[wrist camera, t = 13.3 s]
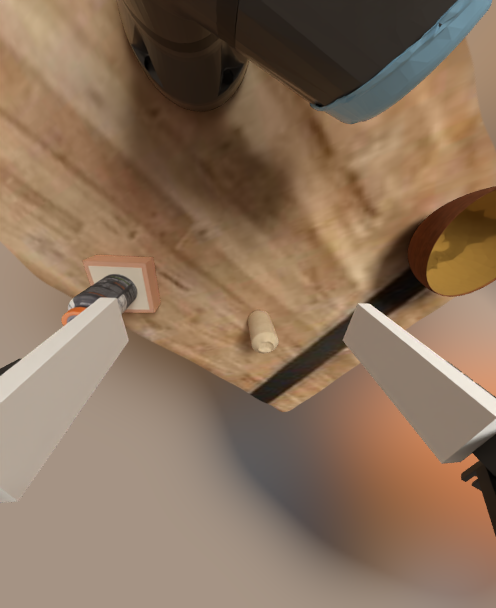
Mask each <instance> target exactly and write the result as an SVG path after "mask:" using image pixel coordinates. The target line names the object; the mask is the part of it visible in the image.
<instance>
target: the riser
mask: <svg viewBox="0 0 496 608" xmlns="http://www.w3.org/2000/svg"><path fill="white" fill-rule="evenodd" d="M82 262H83V265H84V268H85V271H86V273H87V276H88V279H89V282H90V285H91V286H92V285H93V284H95V283H96V282H98V281H100V280H101V279H103V278H104V277H106V276H108V275H111V274H120V275H123V276H125V277H127V278H129V279H130V280H131V281H132V282H133V283H134V284H135V286H136V288H137V297H136V299H135V300H134V301H133V302H132V303H131V305H130V306H129V307H128V308H127V309H126V310H125V311H124V312H136V313H155V311H156V310H157V308H158V307H159V305H160V304H161V301H160V295H159V289H158V283H157V277H156V271H155V265H154V259H153V257H137V256H116V255H94V256H92V257H90V258H87V259H85V260H83V261H82Z"/></svg>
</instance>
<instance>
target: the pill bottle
mask: <svg viewBox="0 0 496 608" xmlns="http://www.w3.org/2000/svg"><path fill="white" fill-rule="evenodd" d="M136 297H137V288H136V286H135V284H134V283H133V282H132V281H131V280H130V279H129V278H127V277H125V276H123V275H120V274H111V275H108V276H106V277H104V278H103V279H101V280H100V281H98V282H96V283H95V284H93V285H92V286H91V287H89V288H87V289H86V290H85V291H83V292H81V293H80V294H78V295H77V296H75V297H74V298H73V299H72V300H71V301H70V303H69V305H68V312H67V313H65V314H64V315H63V316H62V324H63V326H65V325H66V324H67V323H68V322H70V321H71V320H72V319H74V318H75V317H76V316H77V315H79V314H80V313H81V312H82V311H84V310H85V309H86V308H88V307H89V306H90V305H91V304H93V303H94V302H95V301H96V300H98V299H99V298H117V301H118V304H119V308H120V311H121V315H122V313H123V312H124V311H125V310H126V309H127V308H128V307H129V306H130V305H131V303H132V302H133V301H134V300H135V299H136Z"/></svg>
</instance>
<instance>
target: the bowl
mask: <svg viewBox="0 0 496 608" xmlns="http://www.w3.org/2000/svg"><path fill="white" fill-rule="evenodd" d="M408 262H409V265H410V268H411V270H412V272H413V274H414V275H415V277H416V278H417V279H418V280H419V281H420V282H421V283H422V284H423V285H424V286H425V287H427V288H428V289H429V290H431V291H433V292H435V293H437V294H440V295H442V296H449V297H453V296H460V295H465V294H469V293H471V292H474V291H476V290H478V289H481V288H483V287H485V286H487V285H488V284H490V283H492V282H493V281H495V280H496V186H495V187H490V188H486V189H482V190H479V191H476V192H473V193H470V194H467V195H464V196H462V197H460V198H457V199H455V200H453V201H451V202H449V203H447V204H445V205H444V206H442V207H440V208H439V209H437V210H436V211H434V212H433V213H432V214H431V215H429V216H428V217H427V218H426V219H425V220H424V221H423V222H422V223H421V224H420V226H419V227H418V228H417V230H416V231H415V233H414V234H413V236H412V238H411V241H410V244H409V248H408Z"/></svg>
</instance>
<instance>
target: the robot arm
mask: <svg viewBox="0 0 496 608" xmlns="http://www.w3.org/2000/svg"><path fill="white" fill-rule="evenodd" d="M491 3H492V0H117V4H118V9H119V13H120V17H121V21H122V24H123V27H124V30H125V33H126V36H127V38H128V41H129V43H130V45H131V48H132V50H133V52H134V54H135V56H136V58H137V60H138V61H139V63H140V65H141V66H142V68H143V69H144V71H145V72H146V74H147V75H148V77H149V78H150V80H151V81H152V82H153V84H154V85H155V86H156V87H157V89H158V90H159V91H160V92H161V93H162V94H163V95H164V96H166V97H167V98H168V99H169V100H171V101H172V102H174V103H175V104H177V105H179V106H181V107H183V108H186V109H189V110H193V111H207V110H211V109H214V108H217V107H219V106H220V105H222V104H223V103H225V102H226V101H227V100H228V99H229V98H230V97H231V96H232V95H233V94H234V93H235V91H236V90H237V88H238V87H239V85H240V83H241V81H242V79H243V77H244V75H245V72H246V69H247V66H248V62H249V60H250V61H252V62H253V63H254V64H256V65H257V66H259V67H260V68H262V69H263V70H264V71H266V72H267V73H269V74H270V75H271V76H273V77H274V78H276V79H277V80H279V81H280V82H281V83H283V84H284V85H286V86H287V87H288V88H290V89H291V90H293V91H294V92H295V93H297V94H298V95H300V96H301V97H303V98H304V99H305V100H307V101H308V102H310V106H311V107H312V108H314V109H315V110H318V111H325V112H326V113H328V114H330V115H331V116H333V117H335V118H336V119H338V120H340V121H341V122H343V123H347V124H354V123H357V122H361V121H366V120H369V119H371V118H373V117H375V116H377V115H379V114H380V113H382V112H384V111H385V110H387V109H388V108H390V107H391V106H392V105H394V104H395V103H397V102H398V101H399V100H400V99H402V98H403V97H404V96H405V95H407V94H408V93H409V92H410V91H411V90H412V89H414V88H415V87H416V86H417V85H418V84H419V83H420V82H421V81H422V80H424V79H425V78H426V77H427V76H428V75H429V74H430V73H431V72H432V71H433V70H434V69H435V68H436V67H437V66H438V65H439V64H440V63H441V62H442V61H443V60H444V59H445V58H446V57H447V56H448V55H449V54H450V53H451V52H452V51H453V50H454V49H455V48H456V47H457V46H458V44H459V43H460V42H461V41H462V40H463V39H464V38H465V37H466V35H467V34H468V33H469V32H470V31H471V30H472V28H473V27H474V26H475V25H476V24H477V22H478V21H479V20H480V19H481V18H482V17H483V15H484V14H485V13H486V12H487V11H488V9H489V8H490V6H491ZM128 341H129V339H128V336H127V332H126V329H125V325H124V322H123V318H122V315H121V311H120V308H119V304H118V301H117V298H99V299H98V300H96V301H95V302H94V303H93V304H91V305H90V306H89V307H88V308H86V309H85V310H84V311H82V312H81V313H80V314H79V315H77V316H76V317H75V318H74V319H72V320H71V321H70V322H68V323H67V324H66V325H65V326H63V327H62V328H61V329H60V330H58V331H57V332H56V333H54V334H53V335H52V336H51V337H49V338H48V339H47V340H46V341H44V342H43V343H42V344H40V345H39V346H38V347H37V348H35V349H34V350H33V351H32V352H30V353H29V354H28V355H26V356H25V357H24V358H23V359H18V360H16V361H14V362H12V363H10V364H8V365H6V366H5V367H3V368H1V369H0V503H3V502H15V501H19V500H20V498H21V497H22V495H23V494H24V492H25V491H26V489H27V488H28V486H29V485H30V484H31V482H32V481H33V479H34V478H35V476H36V475H37V473H38V472H39V470H40V469H41V468H42V466H43V465H44V463H45V462H46V460H47V459H48V457H49V456H50V454H51V453H52V452H53V450H54V449H55V447H56V446H57V444H58V443H59V441H60V440H61V439H62V437H63V436H64V434H65V433H66V431H67V430H68V428H69V427H70V426H71V424H72V423H73V421H74V420H75V418H76V417H77V415H78V414H79V412H80V411H81V409H82V408H83V406H84V405H85V404H86V402H87V401H88V399H89V398H90V397H91V395H92V394H93V392H94V391H95V389H96V388H97V386H98V385H99V383H100V382H101V380H102V379H103V378H104V376H105V374H106V373H107V372H108V370H109V369H110V367H111V366H112V365H113V363H114V362H115V360H116V359H117V357H118V356H119V354H120V353H121V352H122V350H123V349H124V347H125V346H126V344H127V343H128ZM343 341H344V342H345V344H346V345H347V346H348V347H349V349H350V350H351V351H352V352H353V354H354V355H355V356H356V357H357V359H358V360H359V361H360V362H361V364H362V365H363V366H364V367H365V368H366V370H367V371H368V372H369V374H371V376H372V377H373V379H374V380H375V381H376V382H377V383H378V385H379V386H380V387H381V388H382V390H383V391H384V392H385V393H386V395H387V396H388V397H389V398H390V400H391V401H392V402H393V403H394V405H395V406H396V407H397V408H398V410H399V411H400V412H401V413H402V415H403V416H404V417H405V418H406V420H407V421H408V422H409V423H410V425H411V426H412V427H413V428H414V430H415V431H416V432H417V433H418V434H419V436H420V437H421V438H422V439H423V441H424V442H425V443H426V444H427V446H428V447H429V448H430V449H431V451H432V452H433V453H434V454H435V456H436V457H437V458H438V459H439V461H440V462H441V463H454V462H461V461H462V460H464V459H465V458H466V457H468V456H469V455H470V454H472V453H473V454H474V455H475V456H476V457H477V458H478V459H479V460H480V461H478V462H477V463H475V464H474V465H473V466H471V467H470V468H468V469H467V470H466V471H464V472H463V473H462V474H461V479H462V480H463V481H465V482H466V481H468V480H469V479H471V478H472V477H473V476H477V477H478V479H477V480H475V481H474V482H473V483H472V486H474V487H475V488H477V489H479V490H481V491H482V493H483V497H484V500H485V503H486V506H487V509H488V513H489V516H490V519H491V522H492V526H493V529H494V532H495V535H496V397H495V396H493V395H492V394H490V393H489V392H488V391H487V390H485V389H484V388H483V387H481V386H480V385H479V384H477V383H475V382H473V380H472V379H470V378H469V377H468V376H466V375H465V374H463V373H461V371H460V370H459V369H457V368H456V367H454V366H453V365H452V364H450V363H449V362H447V361H445V360H444V359H443V358H441V357H440V356H439V355H437V354H436V353H434V352H433V351H432V350H431V349H429V348H428V347H427V346H425V345H424V344H422V343H421V342H420V341H419V340H417V339H416V338H415V337H413V336H412V335H411V334H409V333H408V332H406V331H405V330H404V329H403V328H401V327H400V326H399V325H397V324H396V323H395V322H393V321H392V320H391V319H389V318H388V317H387V316H385V315H384V314H383V313H381V312H380V311H379V310H377V309H376V308H375V307H373V306H372V305H371V304H357V306H356V309H355V311H354V314H353V316H352V319H351V321H350V324H349V326H348V329H347V331H346V334H345V336H344V339H343Z"/></svg>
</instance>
